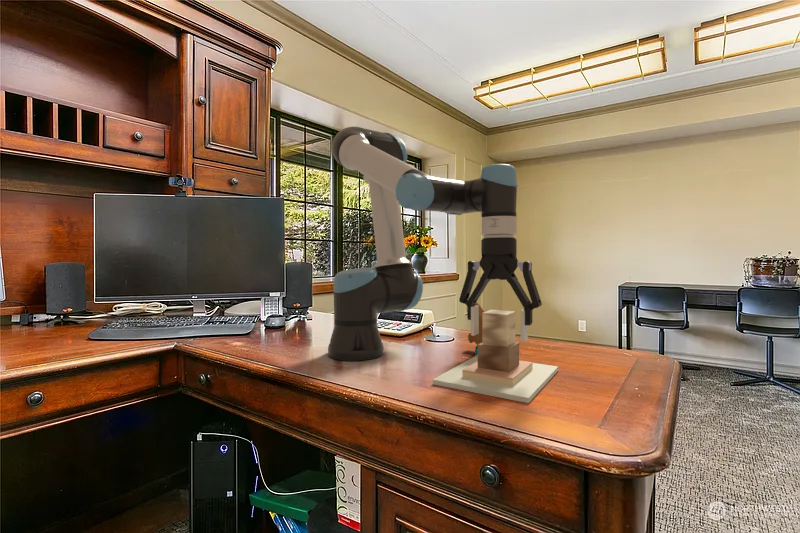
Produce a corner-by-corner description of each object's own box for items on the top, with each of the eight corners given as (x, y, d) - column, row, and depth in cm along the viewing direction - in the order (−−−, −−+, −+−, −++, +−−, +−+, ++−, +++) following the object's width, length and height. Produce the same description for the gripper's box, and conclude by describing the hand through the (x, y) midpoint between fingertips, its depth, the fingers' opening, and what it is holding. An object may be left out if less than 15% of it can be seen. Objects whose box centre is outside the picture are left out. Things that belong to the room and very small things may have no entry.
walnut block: (477, 367, 88) (477, 344, 88) (489, 360, 94) (489, 338, 94) (508, 372, 85) (509, 348, 84) (519, 364, 90) (519, 342, 90)
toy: (467, 348, 116) (467, 296, 116) (492, 349, 115) (492, 296, 115) (467, 359, 104) (467, 301, 104) (495, 360, 103) (495, 302, 103)
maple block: (482, 344, 88) (482, 312, 88) (491, 339, 93) (491, 309, 93) (507, 347, 85) (507, 314, 85) (515, 342, 90) (515, 311, 90)
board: (432, 384, 85) (432, 372, 85) (477, 358, 105) (477, 349, 105) (528, 403, 74) (528, 389, 74) (558, 370, 94) (558, 360, 94)
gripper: (443, 237, 92) (444, 334, 92) (549, 234, 79) (548, 347, 80) (458, 238, 98) (458, 329, 99) (557, 236, 85) (557, 340, 86)
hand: (498, 337), depth 89 cm, fingers open, 10 cm apart
